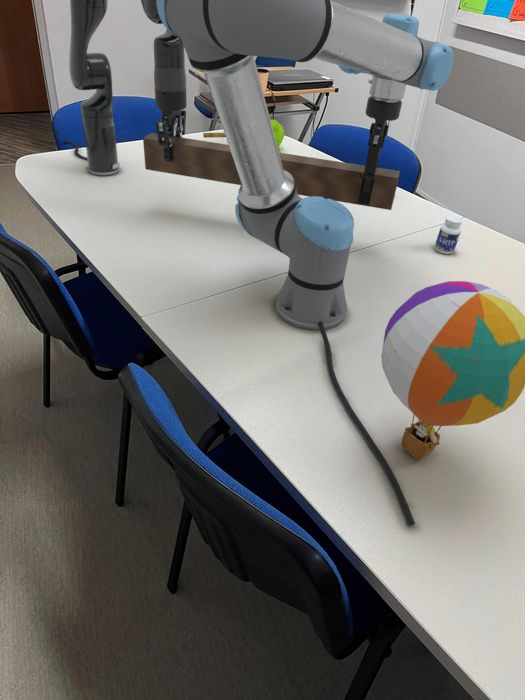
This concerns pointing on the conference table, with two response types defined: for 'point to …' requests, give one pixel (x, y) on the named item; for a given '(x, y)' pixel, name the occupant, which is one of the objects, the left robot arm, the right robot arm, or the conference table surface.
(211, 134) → the decorative tree
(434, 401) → the toy
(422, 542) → the conference table surface
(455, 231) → the pill bottle
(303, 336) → the conference table surface
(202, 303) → the conference table surface
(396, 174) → the beam
